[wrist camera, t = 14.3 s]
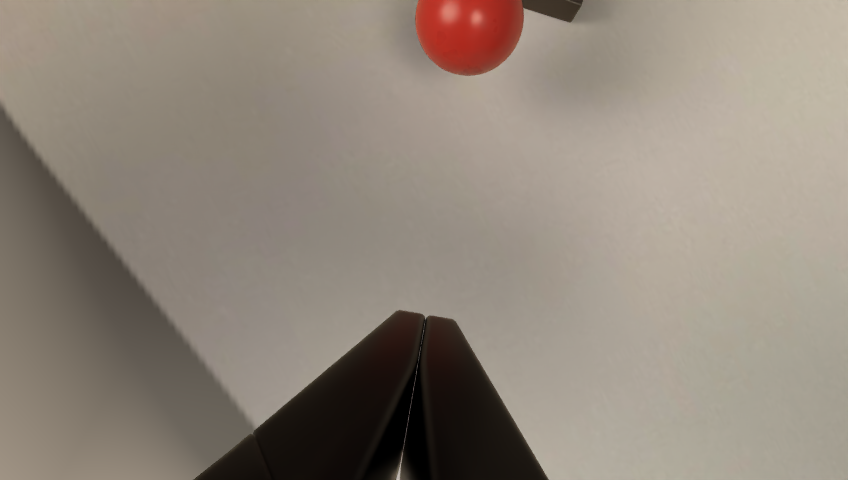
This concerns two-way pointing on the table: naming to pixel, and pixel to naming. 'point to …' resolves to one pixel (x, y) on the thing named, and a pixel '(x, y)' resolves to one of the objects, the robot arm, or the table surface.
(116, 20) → the table surface
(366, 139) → the table surface
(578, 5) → the switch bracket
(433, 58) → the power switch
